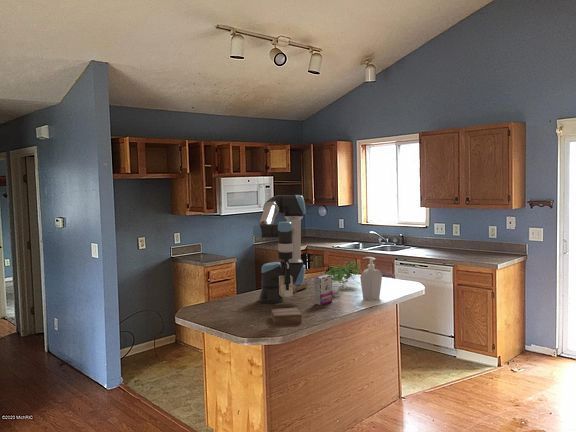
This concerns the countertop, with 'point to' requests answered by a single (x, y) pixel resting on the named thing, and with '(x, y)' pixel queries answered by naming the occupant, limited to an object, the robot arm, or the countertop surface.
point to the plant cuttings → (340, 273)
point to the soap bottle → (371, 281)
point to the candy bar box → (323, 289)
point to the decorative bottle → (299, 286)
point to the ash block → (281, 286)
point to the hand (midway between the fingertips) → (285, 294)
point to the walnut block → (286, 316)
